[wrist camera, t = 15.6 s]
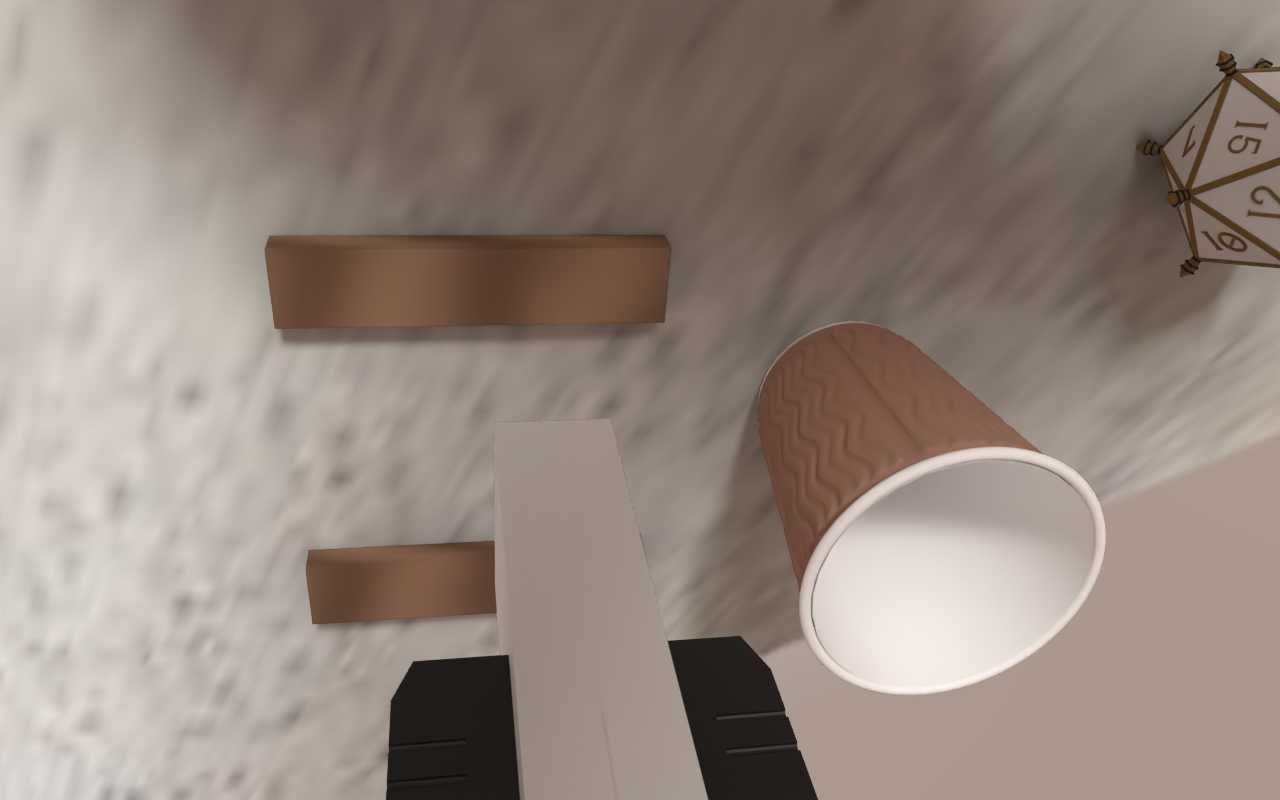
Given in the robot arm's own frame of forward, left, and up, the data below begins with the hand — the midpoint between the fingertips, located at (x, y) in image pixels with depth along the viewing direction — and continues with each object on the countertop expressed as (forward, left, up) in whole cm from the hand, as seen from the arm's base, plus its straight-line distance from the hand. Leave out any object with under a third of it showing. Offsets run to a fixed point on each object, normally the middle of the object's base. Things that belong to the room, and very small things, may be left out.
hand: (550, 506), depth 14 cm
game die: (+25, +12, -25) cm, 37 cm away
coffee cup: (+19, -4, -25) cm, 31 cm away
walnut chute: (+7, -13, -24) cm, 29 cm away
